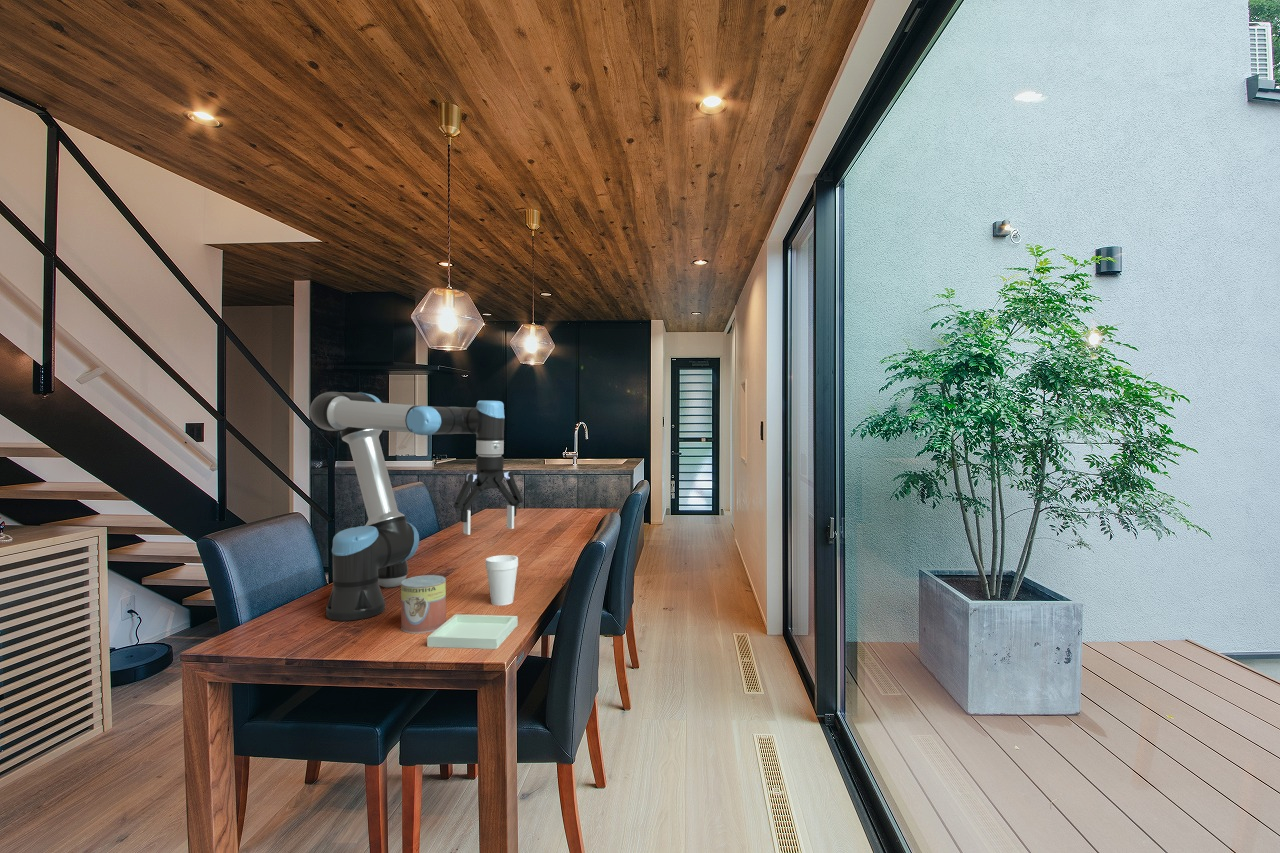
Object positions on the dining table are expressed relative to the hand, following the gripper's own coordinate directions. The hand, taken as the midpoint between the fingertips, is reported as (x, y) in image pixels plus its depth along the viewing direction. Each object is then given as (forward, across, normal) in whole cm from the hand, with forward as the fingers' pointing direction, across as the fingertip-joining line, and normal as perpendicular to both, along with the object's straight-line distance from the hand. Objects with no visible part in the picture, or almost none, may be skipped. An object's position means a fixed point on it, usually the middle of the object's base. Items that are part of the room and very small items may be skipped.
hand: (489, 531), depth 174 cm
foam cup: (+23, +8, +5) cm, 25 cm away
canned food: (+23, -18, +1) cm, 30 cm away
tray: (+23, -12, -15) cm, 30 cm away
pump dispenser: (+24, -9, +47) cm, 53 cm away
